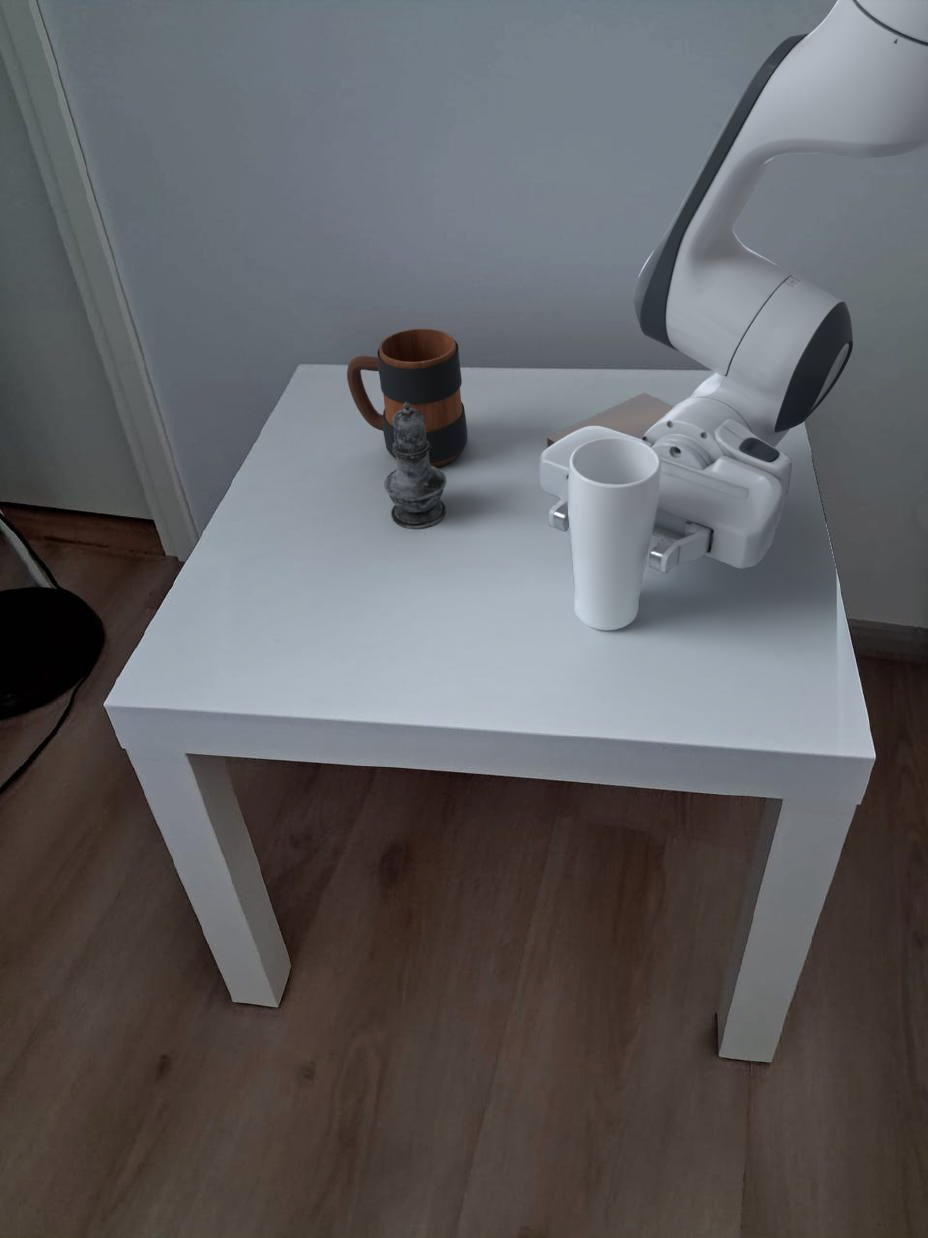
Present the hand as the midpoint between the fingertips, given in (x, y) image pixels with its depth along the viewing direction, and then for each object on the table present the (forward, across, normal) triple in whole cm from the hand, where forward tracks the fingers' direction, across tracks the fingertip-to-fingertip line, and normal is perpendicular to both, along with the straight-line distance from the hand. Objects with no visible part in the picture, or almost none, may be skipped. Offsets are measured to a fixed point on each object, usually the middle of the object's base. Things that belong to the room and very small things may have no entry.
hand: (605, 542), depth 73 cm
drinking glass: (-1, 0, +8) cm, 8 cm away
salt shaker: (-3, -22, +8) cm, 24 cm away
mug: (-11, -30, +8) cm, 33 cm away
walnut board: (-24, -10, +8) cm, 28 cm away
